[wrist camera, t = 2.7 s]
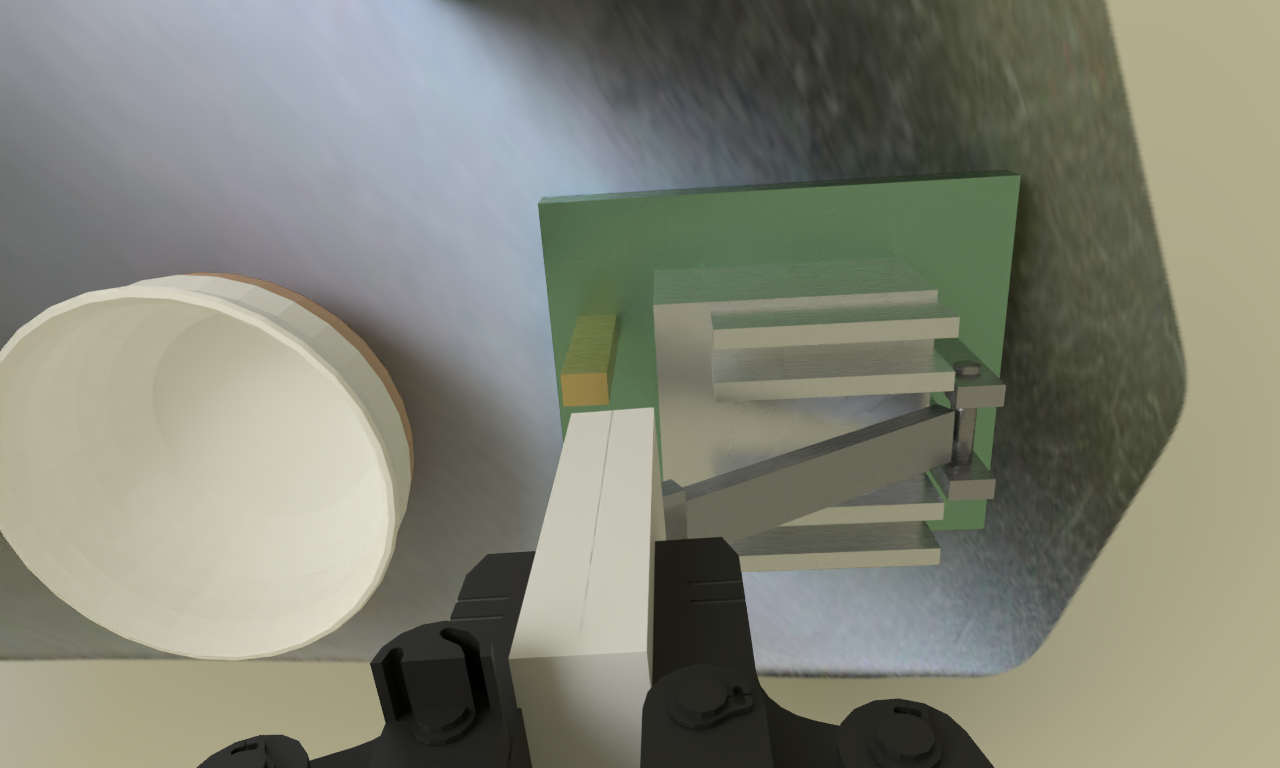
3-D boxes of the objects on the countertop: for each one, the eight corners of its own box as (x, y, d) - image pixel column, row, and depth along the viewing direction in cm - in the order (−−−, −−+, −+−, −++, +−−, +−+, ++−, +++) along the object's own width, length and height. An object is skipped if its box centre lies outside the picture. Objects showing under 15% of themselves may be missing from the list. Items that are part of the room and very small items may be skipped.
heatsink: (577, 528, 41) (556, 650, 33) (543, 197, 35) (506, 243, 27) (972, 512, 40) (1053, 632, 32) (1005, 170, 34) (1116, 208, 26)
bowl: (83, 213, 36) (-67, 257, 28) (456, 266, 36) (404, 321, 29) (118, 533, 42) (2, 637, 34) (439, 574, 42) (391, 685, 35)
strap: (589, 590, 25) (601, 603, 24) (581, 508, 24) (593, 519, 23) (933, 463, 31) (950, 471, 30) (938, 393, 30) (956, 400, 29)
